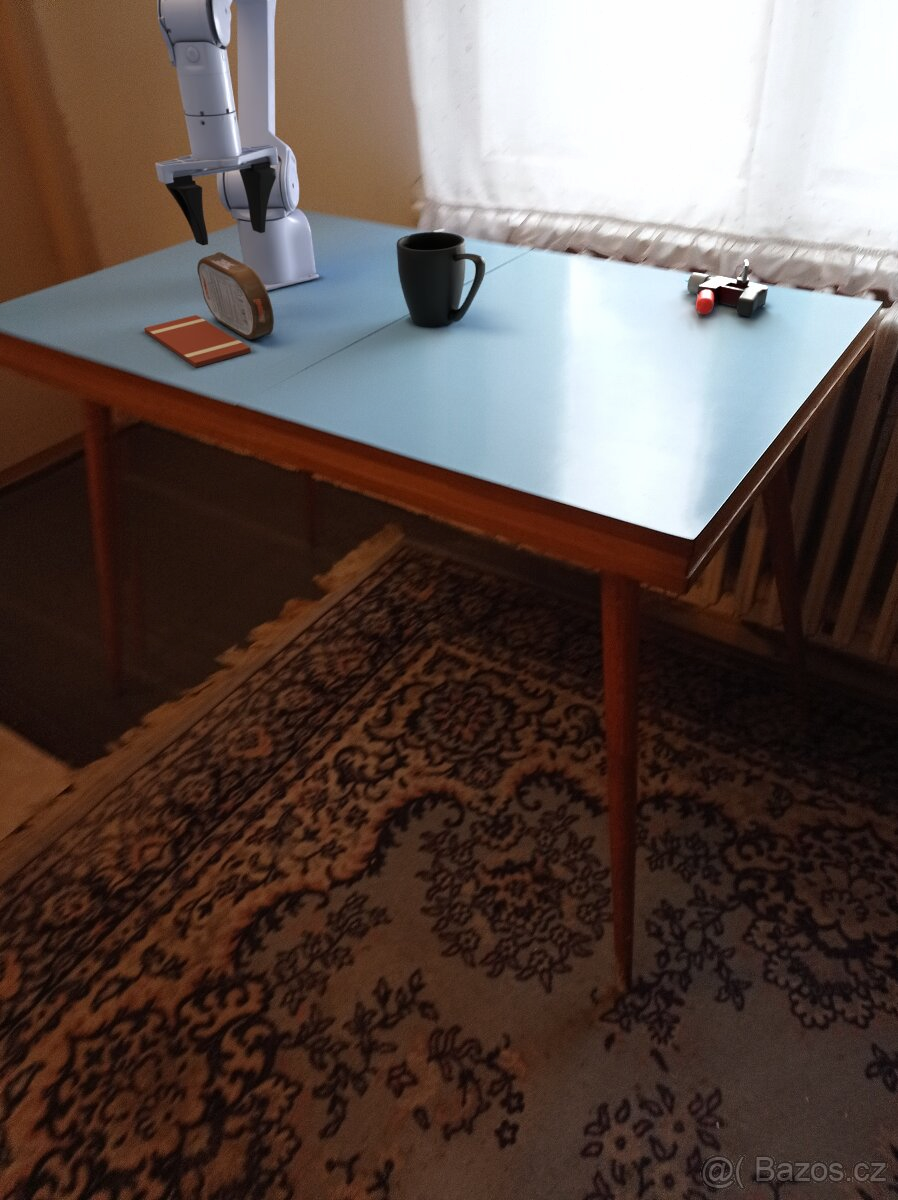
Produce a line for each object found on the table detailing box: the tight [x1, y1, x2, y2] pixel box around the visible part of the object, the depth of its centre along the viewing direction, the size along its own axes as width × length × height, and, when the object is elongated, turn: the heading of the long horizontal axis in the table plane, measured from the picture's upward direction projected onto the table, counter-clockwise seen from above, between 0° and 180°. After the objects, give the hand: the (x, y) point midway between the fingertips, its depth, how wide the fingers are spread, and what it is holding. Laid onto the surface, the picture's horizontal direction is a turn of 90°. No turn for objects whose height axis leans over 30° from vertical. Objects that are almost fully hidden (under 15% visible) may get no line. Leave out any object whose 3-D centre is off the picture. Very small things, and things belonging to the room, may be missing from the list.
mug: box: [396, 231, 486, 328], centre depth 110 cm, size 8×12×10 cm
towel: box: [143, 314, 252, 368], centre depth 110 cm, size 7×15×1 cm, turn 37°
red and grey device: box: [684, 258, 769, 317], centre depth 113 cm, size 10×12×5 cm
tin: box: [196, 251, 275, 340], centre depth 110 cm, size 15×3×8 cm, turn 37°
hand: (231, 237), depth 111 cm, fingers open, 7 cm apart
